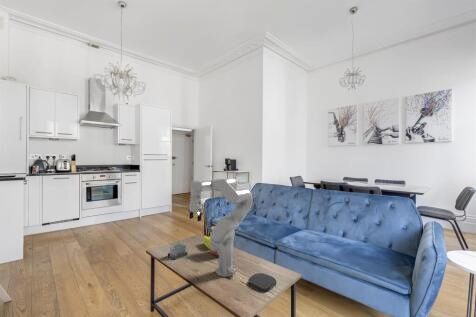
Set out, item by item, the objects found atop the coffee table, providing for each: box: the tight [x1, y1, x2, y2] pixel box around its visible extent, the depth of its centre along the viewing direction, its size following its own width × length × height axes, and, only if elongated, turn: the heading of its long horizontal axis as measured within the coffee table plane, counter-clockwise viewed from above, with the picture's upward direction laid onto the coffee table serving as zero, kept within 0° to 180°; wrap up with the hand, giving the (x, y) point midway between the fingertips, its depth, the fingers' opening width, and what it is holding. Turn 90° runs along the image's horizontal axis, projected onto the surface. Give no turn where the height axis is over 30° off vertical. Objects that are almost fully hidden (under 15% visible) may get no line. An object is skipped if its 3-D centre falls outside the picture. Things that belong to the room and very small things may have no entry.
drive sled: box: [167, 251, 188, 261], centre depth 171 cm, size 9×12×2 cm
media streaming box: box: [247, 272, 277, 293], centre depth 134 cm, size 15×15×3 cm
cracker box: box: [209, 225, 219, 257], centre depth 175 cm, size 14×6×21 cm, turn 53°
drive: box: [169, 242, 187, 258], centre depth 171 cm, size 5×11×7 cm, turn 140°
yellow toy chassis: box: [203, 235, 210, 250], centre depth 190 cm, size 16×6×8 cm, turn 28°
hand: (195, 219), depth 165 cm, fingers open, 9 cm apart
